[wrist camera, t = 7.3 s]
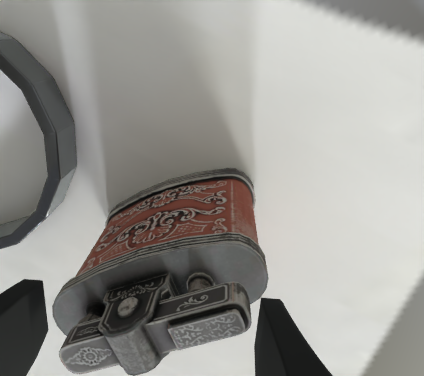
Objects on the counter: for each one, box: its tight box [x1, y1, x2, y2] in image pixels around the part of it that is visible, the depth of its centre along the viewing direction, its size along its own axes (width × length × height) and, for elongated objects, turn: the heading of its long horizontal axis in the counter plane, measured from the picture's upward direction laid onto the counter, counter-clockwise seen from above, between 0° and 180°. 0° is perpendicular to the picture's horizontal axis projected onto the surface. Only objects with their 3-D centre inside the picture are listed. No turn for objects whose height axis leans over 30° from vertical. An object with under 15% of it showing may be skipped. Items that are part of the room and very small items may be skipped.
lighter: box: [52, 168, 268, 376], centre depth 16 cm, size 8×3×10 cm, turn 110°
